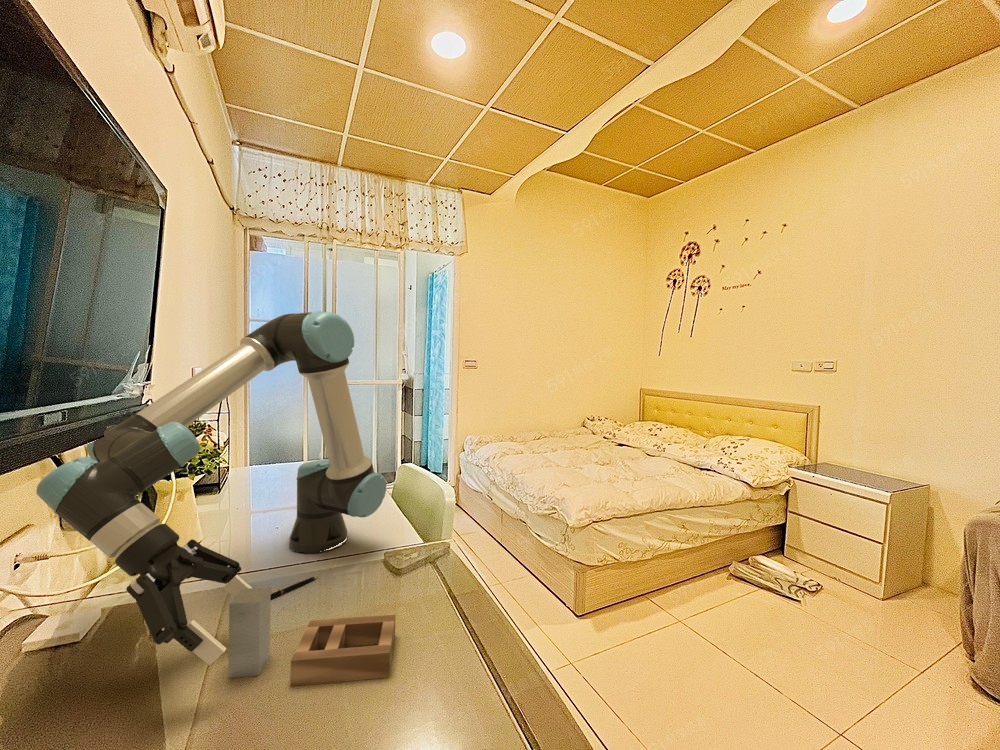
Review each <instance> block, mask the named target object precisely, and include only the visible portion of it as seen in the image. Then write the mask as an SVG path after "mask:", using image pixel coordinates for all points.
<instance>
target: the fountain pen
mask: <svg viewBox="0 0 1000 750" xmlns="http://www.w3.org/2000/svg"><path fill="white" fill-rule="evenodd" d="M319 577H320V575H317V576H312V577H309V578H306V579H304V580H302V581H299V582H296V583H293V584H292V585H290V586H287V587H284V588H282V589H280V588H278V589H276V590H274V591H272V592H271V596H270V601H272V600H275V599H277V598H279V597H281V596H283V595H285V594H288V593H289V592H292V591H294V590H297V589H299V588H301V587H303V586H305V585H307V584H309V583H311V582H313V581H315V579H317V578H319Z"/></svg>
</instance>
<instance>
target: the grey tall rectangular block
mask: <svg viewBox="0 0 1000 750" xmlns="http://www.w3.org/2000/svg"><path fill="white" fill-rule="evenodd" d="M271 588H272V587H270V586H269V587H252V588H249V589H242V590H241V591H240V592H239V593H238V594H237V595H236V597H235V598H234V597H233V599H231V601H230V602H229V605H228V613H229V614H228V665H227V666H228V668H227V669H228V673H227V675H228V677H227V678H228V679H234V678H245V677H247V678H248V677H257V676H260V674H261V672H262V670H264V667H265V665H266V664H267V662H268V660H269V659H270V653H271V651H270V650H271V640H270V639H271V600H270V596H271V594H272V593H271Z"/></svg>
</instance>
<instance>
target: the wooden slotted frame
mask: <svg viewBox="0 0 1000 750" xmlns="http://www.w3.org/2000/svg"><path fill="white" fill-rule="evenodd" d="M395 640H396V614H387V615H386V614H385V615H373V616H372V615H371V616H370V615H369V616H356V617H343V618H342V617H341V618H326V619H315V620H314V619H313V620H310V621H309V622H308V625H307V627H306V629H305V631H304V633H303V634H302V637H301V639H300V641H299V643H298V645H297V647H296V649H295V651H294V653H293V656H292V658H291V660H290V681H289V684H290V687H296V686H306V685H308V686H309V685H317V684H329V683H339V682H350V681H361V680H363V681H364V680H372V679H382V678H383V679H384V678H390V674H391V667H392V659H393V652H394V645H395ZM370 645H371V646H370Z"/></svg>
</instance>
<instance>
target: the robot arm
mask: <svg viewBox="0 0 1000 750" xmlns="http://www.w3.org/2000/svg"><path fill="white" fill-rule="evenodd" d="M354 347H355V336H354V332H353V329H352V327H351V325H350V324H349V323H348V321H347V320H345V319H344V318H343V317H342V316H340V315H339V314H337V313H334V312H330V311H326V312H325V311H310V312H299V313H298V312H297V313H286V314H282V315H280V316H277V317H275V318H272V319H271V320H270V321H268V322H266V323H264V324H263V325H261V326H260V327H258V328H256V329H255V330H254V331H252V332H250V333H249V334H247V335H245V336H244V337H242V338H241V339H240V341H239V346H238V347H237V346H236V348H234V349H232V350H231V351H229V352H228V353H227V354H226V355H224V356H222V357H220V358H219V359H216V361H215V362H212V363H211V364H210V365H208V366H207V367H205V368H203V369H202V370H200V371H199V372H197V373H196V374H195V375H192V376H191V377H190V378H188V379H187V380H186V381H184V382H182V383H181V384H179V385H178V386H176V387H175V388H173V389H172V390H170V391H168V393H166V394H164V395H163V396H161V397H160V398H158V399H156V400H154V401H153V402H152V403H151V404H150V403H149V404H148V405H147V406H145V408H142V409H141V410H140V411H139V412H137V413H135V414H133V415H131V416H130V417H129V418H127V419H126V420H123V421H122V422H120V423H119V424H118V425H117V424H113V425H108V426H109V427H108V426H106V427H107V428H106V430H105V431H104V436H105V437H103V438H101V439H98V440H96V441H94V442H92V443H89V444H86V451H87V454H88V456H81V457H77V458H75V459H73V460H71V461H67V462H65V463H63V464H61V465H60V466H58V467H56V468H55V469H53V470H52V471H50V472H49V473H47V474H46V476H44V477H43V478H42V479H41V480H40V481H39V483H37V484H38V485H37V486H36V491H35V493H36V495H37V496H38V497H39V498H40V499H41V500H42V501H43V502H44V503H45V504H46V505H47V506H48V507H49V508H50V509H51V510H52V511H53V513H54V514H56V515H57V516H58V517H60V518H61V519H62V520H64V522H66V523H67V524H68V525H70V526H71V527H72V528H73V529H75V530H76V531H77V532H78V533H79V534H80V535H81V536H82V537H84V538H85V539H86V540H87V541H89V542H91V543H92V544H93V545H94V546H95V548H98V550H99V551H101V552H102V553H103V554H104V555H105V556H106V557H108V558H109V559H113V558H115V562H114V563H115V565H117V566H118V567H119V568H120V569H121V570H122V571H123V572H124V573H126V575H128V576H129V577H136V576H138V575H139V576H138V577H137V578H136V579H134V580H133V581H132V582H131V583H130V584H129V585H128V586H126V589H125V590H126V592H127V593H129V595H130V596H131V597H132V598H133V599H134V600H135V602H136V605H137V607H138V609H139V610H140V614H141V615H142V617H143V619H144V622H145V624H146V626H147V628H148V631H149V632H150V635H151V637H152V639H153V641H154V643H155V644H156V645H158V646H159V645H162V644H163V643H164V644H169V643H170V642H172V640H173V639H174V640H175V641H176V642H178V643H179V644H180V645H181V646H183V647H184V648H185V649H186V650H187V651H188V652H191V653H194V654H195V655H196V656H197V657H199V658H200V659H201V660H202V661H203V662H204V663H206V665H208V666H209V667H210V666H211V665H212V664H214V662H215V661H216V660H217V659H218V658H219V657H221V656H222V654H224V653H225V651H227V647H226V646H224V645H223V644H222V643H221V642H220V641H219V640H217V639H216V638H215V637H213V635H211V634H210V633H209V631H208V630H205V628H203V627H202V626H201V625H200V624H199V623H198V622H196V621H195V620H194V619H193V620H191V621H190V622H189V623H188V619H187V614H186V611H185V606H184V601H183V597H182V596H183V595H182V592H181V588H180V587H181V585H182V582H184V580H186V579H190V578H195V579H198V580H199V579H200V580H206V581H210V582H215V583H220V584H225V585H224V586H223V589H224V590H225V591H226V592H227V593H228V594H230V596H232V597H233V599H234V598H235V597H236V595H237V594H238V593H239V592H240V591H241V590H242V589H249V588H253V587H252V586H251V585H250V584H249V583H248V582H247V581H246V580H245V579H244V578H243V577H241V576H240V575H239V572H241V571H242V567H241V566H240V565H241V564H240V562H238V561H236V560H234V559H232V558H230V557H228V556H225V555H223V554H221V553H219V552H216V551H214V550H212V549H210V548H208V547H205V546H203V545H202V544H201V543H199V542H198V541H197V540H195V539H193V538H191V539H190V540H188V542H186V543H185V545H183V546H180V545H179V544H178V542H179V540H180V535H179V534H178V533H177V532H176V531H175V530H173V529H172V528H171V527H170V526H169V525H168V524H167V523H160V522H161V517H159V516H158V515H157V514H156V513H155V512H153V511H152V510H151V509H150V508H149V507H148V506H146V505H145V504H144V503H143V502H142V501H140V500H139V499H138V498H137V496H139V495H140V494H142V493H143V492H145V491H146V490H148V489H150V488H151V487H152V486H154V485H155V484H157V483H158V482H159V481H161V480H163V479H164V478H166V477H167V476H169V475H170V474H172V473H174V472H175V471H176V470H178V469H179V468H181V467H184V466H185V464H186V463H188V462H189V461H190V460H192V459H193V458H195V457H196V456H197V455H198V454H199V453H200V450H201V447H200V446H201V445H200V442H199V440H198V439H197V437H196V436H195V435H194V433H193V432H192V431H191V430H190V429H189V428H188V426H190V425H191V424H192V423H194V422H195V421H197V420H198V419H199V418H200V417H202V416H203V415H205V414H206V413H208V412H209V411H210V410H212V409H213V408H214V407H216V406H217V405H218V404H220V403H221V402H222V401H224V400H225V399H227V398H228V397H229V396H231V395H232V394H233V393H235V392H236V391H237V390H239V389H240V388H242V387H244V385H246V384H248V383H249V382H251V380H253V379H254V378H255V377H257V376H258V375H259V374H261V373H262V372H263V371H264V372H270V371H272V370H274V369H275V368H276V367H278V366H279V365H282V364H285V363H286V362H287V363H288V362H292V361H295V362H296V366H297V370H298V374H300V375H301V376H303V377H305V378H306V379H307V380H308V384H309V389H310V392H311V396H312V400H313V403H314V409H315V412H316V415H317V420H318V423H319V427H320V431H321V434H322V435H321V436H322V440H323V443H324V446H325V451H326V454H327V459H325V458H324V459H318V460H313V461H312V460H311V461H308V462H305V463H304V462H303V463H302V464H301V465H299V467H298V469H297V474H296V475H297V476H296V518H295V520H294V524H293V527H292V529H291V532H290V536H289V538H288V540H289V542H288V543H289V544H288V547H289V546H290V547H289V549H290V548H291V549H292V550H291V549H290V550H291V551H293V550H294V551H293V552H295V551H298V552H297V553H299V552H304V553H303V554H315V553H314V552H319V553H321V552H320V551H324V550H326V549H329V548H331V547H334V546H336V545H338V544H339V543H341V542H343V541H344V540H345V539H346V537H347V538H348V529H347V526H346V525H347V524H346V522H345V520H344V517H343V514H344V515H347V516H350V517H353V518H357V517H358V518H367V517H370V516H371V515H373V514H374V513H375V512H376V511H377V510H378V509H379V508H380V507H381V504H383V500H385V499H384V498H385V496H386V493H387V480H386V478H385V476H383V475H382V474H381V473H379V472H375V470H374V465H373V462H372V461H373V460H372V459H371V458H370V457H369V456H366V455H365V453H364V449H363V444H362V441H361V440H362V439H361V436H360V431H359V427H358V424H357V423H358V422H357V418H356V414H355V411H354V407H353V400H352V397H351V393H350V392H351V391H350V388H349V385H348V380H347V375H346V372H345V371H346V369H347V368H348V366H349V365H350V359H349V357H350V356H351V354H352V353H353V348H354Z"/></svg>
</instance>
